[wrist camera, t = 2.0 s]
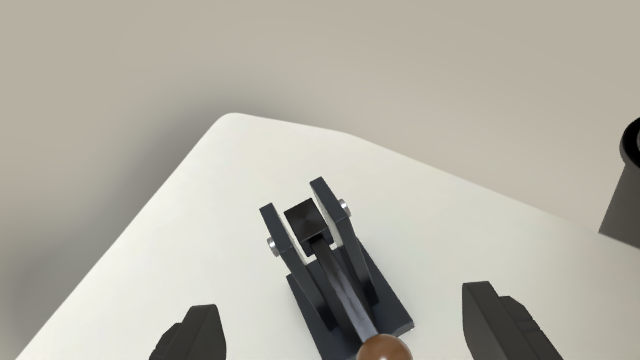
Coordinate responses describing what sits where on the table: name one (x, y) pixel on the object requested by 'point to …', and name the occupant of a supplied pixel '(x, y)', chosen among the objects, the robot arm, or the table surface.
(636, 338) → the table surface
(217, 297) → the table surface
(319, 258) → the lever
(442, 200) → the table surface
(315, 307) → the bracket
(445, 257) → the table surface
